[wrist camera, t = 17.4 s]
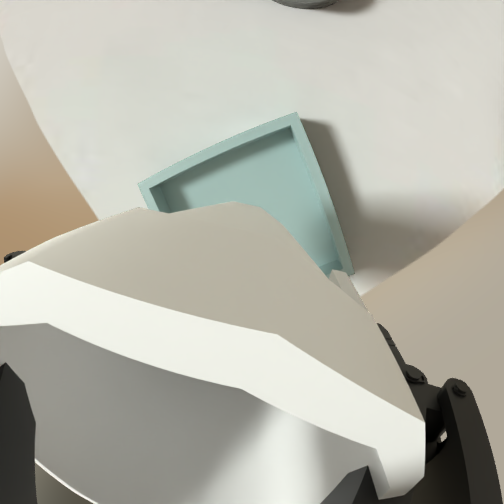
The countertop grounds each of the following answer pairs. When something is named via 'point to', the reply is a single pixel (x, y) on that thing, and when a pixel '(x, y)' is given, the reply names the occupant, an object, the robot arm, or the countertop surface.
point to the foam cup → (202, 364)
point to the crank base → (306, 3)
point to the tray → (260, 186)
